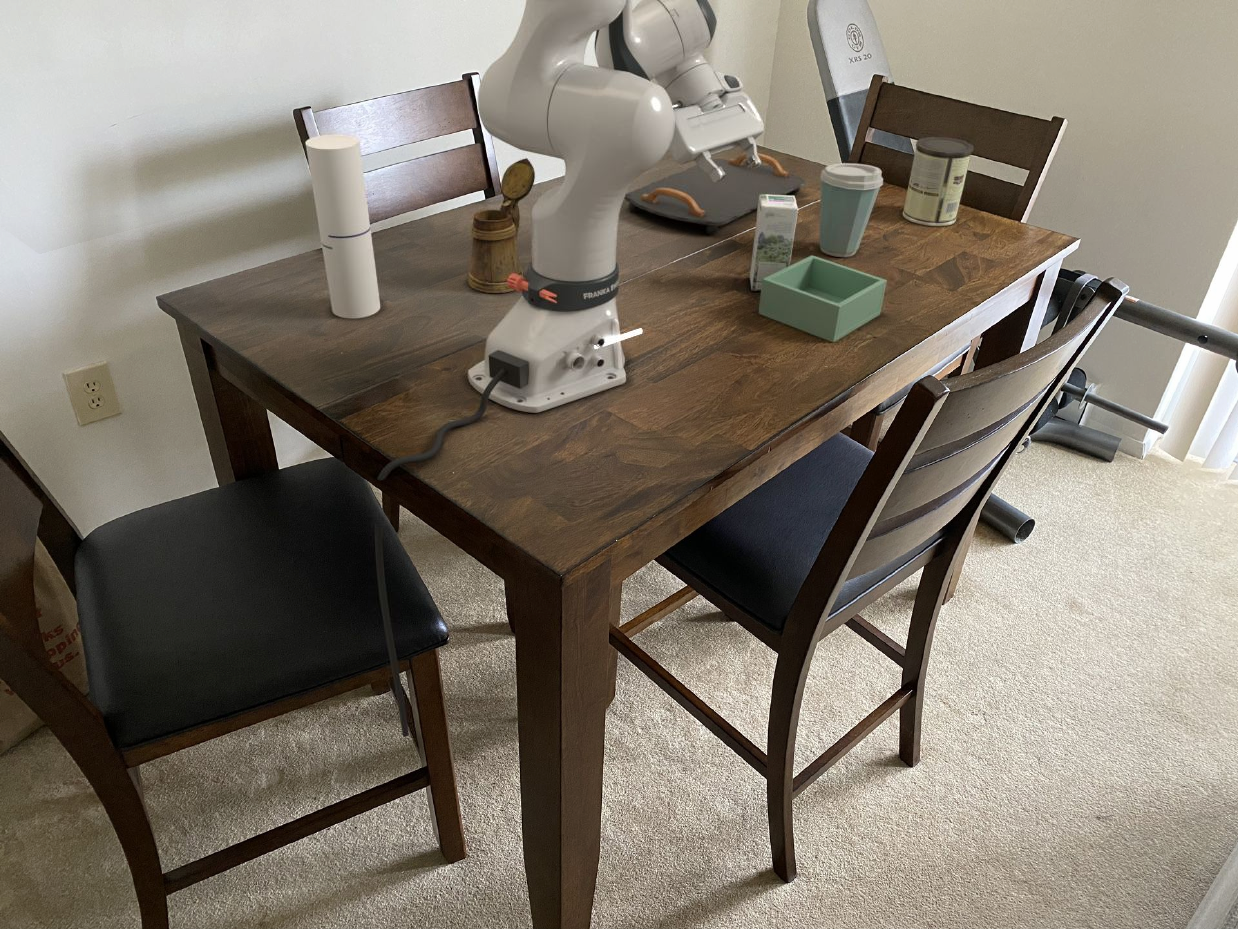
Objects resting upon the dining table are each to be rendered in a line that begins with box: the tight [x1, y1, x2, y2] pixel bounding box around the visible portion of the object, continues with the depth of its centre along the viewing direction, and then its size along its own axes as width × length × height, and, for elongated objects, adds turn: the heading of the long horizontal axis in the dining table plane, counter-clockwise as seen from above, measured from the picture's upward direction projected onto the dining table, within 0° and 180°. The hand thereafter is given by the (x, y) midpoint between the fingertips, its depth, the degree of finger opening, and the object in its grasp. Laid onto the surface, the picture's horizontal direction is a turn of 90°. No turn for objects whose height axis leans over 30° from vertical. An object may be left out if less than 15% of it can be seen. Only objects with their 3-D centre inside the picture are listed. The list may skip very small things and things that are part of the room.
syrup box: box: [749, 194, 799, 292], centre depth 150 cm, size 6×6×14 cm
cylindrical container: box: [305, 133, 381, 319], centre depth 136 cm, size 7×7×25 cm
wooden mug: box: [467, 157, 536, 294], centre depth 149 cm, size 9×14×18 cm, turn 146°
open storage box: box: [758, 255, 888, 343], centre depth 144 cm, size 14×14×6 cm
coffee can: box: [902, 136, 974, 227], centre depth 179 cm, size 10×10×14 cm
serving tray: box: [624, 152, 807, 237], centre depth 185 cm, size 39×23×6 cm, turn 142°
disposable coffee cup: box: [818, 162, 884, 258], centre depth 163 cm, size 11×11×15 cm
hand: (738, 173), depth 149 cm, fingers open, 8 cm apart
